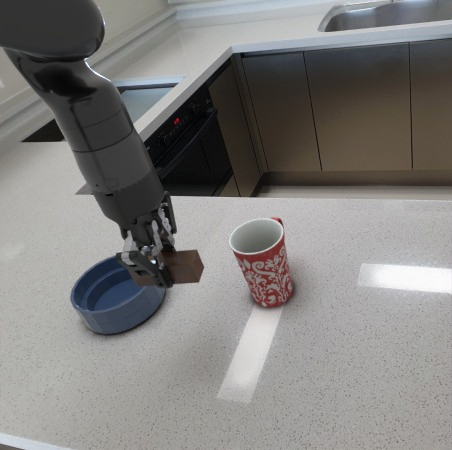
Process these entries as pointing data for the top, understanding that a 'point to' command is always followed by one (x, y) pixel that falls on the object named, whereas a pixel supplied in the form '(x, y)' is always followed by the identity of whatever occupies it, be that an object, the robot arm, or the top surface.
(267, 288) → the mug
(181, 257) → the bar
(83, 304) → the bowl
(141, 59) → the top surface
